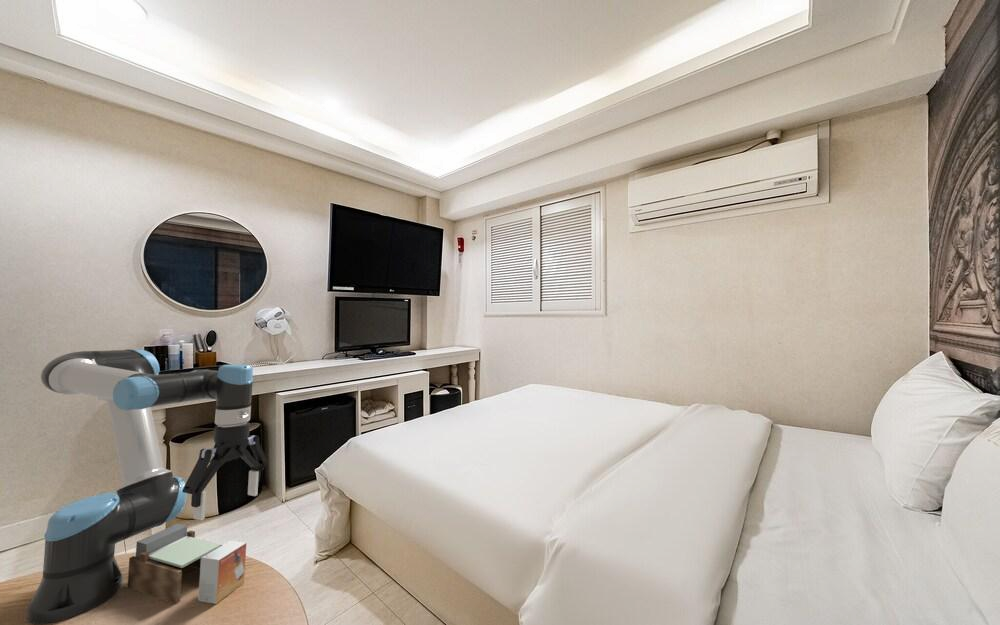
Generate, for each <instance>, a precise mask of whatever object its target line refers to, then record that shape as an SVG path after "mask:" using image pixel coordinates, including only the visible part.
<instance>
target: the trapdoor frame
mask: <svg viewBox="0 0 1000 625" xmlns="http://www.w3.org/2000/svg"><path fill="white" fill-rule="evenodd" d="M187 536H189V537H193V538H196V537H195V536H196V531H195V530H187ZM222 545H223V544H221V546H222ZM128 559H129V560H128V572H127V587H126V588H128V589H131V590H134V591H138V592H140V593H143V594H146V595H149V596H152V597H154V598H155V597H156V598H158V599H161V600H164V601H166V602H170V603H173V604H179V603H180V602H181V594H182V592H181V590H182V589H181V588H182V577H183V576H182V575H183V570H182V569H178V568H175V567H173V565H170V564H166V563H163V562H160V561H158V562H156V563H155V562H152V561H148V559H149V553H146V552H142V553H140V558H138V557H136V555H135V556H134V555H133V556H130V557H129V558H128ZM200 565H201V558H200V559H198V560H196V561H194V562H192V563H190V564H189V565H187V567H191V568H194V569H197V570H198V569H199V570H200Z"/></svg>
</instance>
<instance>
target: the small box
mask: <svg viewBox="0 0 1000 625" xmlns="http://www.w3.org/2000/svg"><path fill="white" fill-rule="evenodd" d="M221 545H222V546H220V547H219V548H217V549H215V550H214V551H212V552H210V553H209V554H207V555H205V556H203V557H201V565H200V569H199V581H198V595H197V596H198V598H197V601H198V602H202V603H203V602H204V603H206V604H207V603H208V604H214V605H217V604H218V603H219V602H220V601H222V600H224V599H225V598H226V597H227V596H229V595H230V594H232V593H233V592H235V590H237V589H238V588H239V587H241V586H243V585H244V584H245V574H246V557H247V543H246V542H243V541H237V540H236V541H235V540H228V541H227V542H225V543H224V544H221Z"/></svg>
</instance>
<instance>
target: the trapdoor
mask: <svg viewBox="0 0 1000 625" xmlns="http://www.w3.org/2000/svg"><path fill="white" fill-rule="evenodd" d="M187 532H188V525H184V524H180V523H176V524H174V525H171V526H168V528H165V529H162V530H161V531H158V532H155V533H153V534H151V535H149V536H146V537H144V538H142V539H140V540H137V541H136V548H135V557H138V558H140V553H142V552H146V553H149V559H148V561H152V562H155V563H156V562H158V561H160V562H163V563H166V564H170V565H173V566H174V567H177V568H180V569H183V568H185V567H186V566H187V565H189V564H190V563H192V562H194V561H196V560H198V559H200V558H201V557H203V556H205V555H207V554H209V553H210V552H212V551H214V550H215V549H217V548H219V547H220V546H221V545H222V544H221V543H216V542H212V541H208V540H205V539H201V538H197V537H195V538H193V537H189V536H187ZM173 566H172V567H173ZM187 567H188V566H187Z"/></svg>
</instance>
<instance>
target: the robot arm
mask: <svg viewBox="0 0 1000 625" xmlns="http://www.w3.org/2000/svg"><path fill="white" fill-rule="evenodd" d="M40 379H41V383H42V384H43V385H44V386H45V388H47V389H48V390H50V391H52V392H55V393H58V394H64V395H78V394H83V395H89V396H93V397H98V399H99V400H102V401H104V402H106V403H107V407H108V411H109V418H110V421H111V423H110V424H111V426H112V432H113V437H114V442H115V447H116V452H117V457H118V462H119V468H120V473H121V478H122V479H121V480H122V482H121V484H120V485H119V486H118V487H117V489H116V493H115V492H103V493H99V494H96V495H91V496H86V497H84V498H81V499H79V500H76V501H74V502H71V503H69V504H66V505H65V506H62V507H61V508H59V509H58V510H57V511H55V512H54V513H53V514H52V515H51V517H49V520H48V521H47V526H46V531H45V533H44V554H43V556H44V557H43V565H42V566H43V567H42V569H43V570H42V577H41V578H42V579H41V581H40V583H39V585H38V587H37V589H36V591H35V593H34V595H33V597H32V598H31V601H30V603H29V605H28V608H27V617H26V618H27V621H28V623H31V624H37V623H38V624H37V625H39V624H41V623H42V624H50V623H54V622H59V621H62V620H66V619H69V618H72V617H75V616H78V615H80V614H83V613H85V612H87V611H90V610H92V609H93V608H96V607H99V605H101V604H103V603H105V602H106V601H107V600H109V599H111V598H112V597H113V596H114V595H116V594H117V593H118V592H119V590H120V589H121V587H122V585H123V574H122V570H121V569H120V567H119V565H118V563H117V559H116V558H115V551H116V550H115V548H116V545H117V544H118V543H119V542H122V541H124V540H127V539H129V538H132V537H134V536H137V535H139V534H141V533H144V532H146V531H149V530H151V529H154V528H157V527H159V526H162V525H163V524H165V523H168V522H169V521H171V520H174V519H175V518H176V517H177V516H179V515H180V514H181V513H182V511H183V509H184V507H185V505H186V503H187V499H188V494H189V495H191V498H190V500H191V501H190V502H191V503H190V506H191V507H192V508H193V520H197V521H203V520H205V519H206V518H205V516H206V504H207V503H206V502H207V491H206V490H205V489H206V488H207V486H208V485H209V483H210V482H211V480H212V479H213V478H214V476H215V475H216V473H217V472H218V470H219V469H220V468H221V467H222V466H224V464H225V463H226V462H227V463H228V462H231V461H232V460H237V459H240V458H241V459H242V460H243V462H245V463H246V465H247V466H249V468H251V469H250V470H249V471H248V480H247V482H248V485H247V495H248V496H252V497H256V496H258V494H259V493H258V491H259V489H258V488H259V482H260V481H261V473H262V471H264V470H265V466H268V464H269V461H268V459H267V457H266V453H265V452H264V450H263V448H262V446H261V444H260V436H259V435H252V434H251V435H250V431H251V423H250V422H249V421H250V420H251V415H252V414H251V412H252V410H251V409H252V396H253V383H254V371H253V366H252V365H250V364H246V363H244V364H243V363H242V364H240V363H238V364H237V363H236V364H235V363H234V364H233V363H232V364H223V365H221V366H219V368H218V370H212V369H211V370H210V369H194V370H192V371H189V372H188V371H187V372H177V373H176V372H175V373H166V374H165V373H164V374H160V363H159V361H158V360H157V358H156V356H155V355H154V354H153V353H151V352H150V351H147V350H144V349H133V348H132V349H131V348H130V349H119V350H118V349H116V350H82V351H81V350H80V351H74V352H68V353H66V354H62V355H60V356H57V357H56V358H53V359H52V360H51V361H49V362H48V363H47V364H46V365H45V366H44V368H43V369H42V370H41V374H40ZM204 399H206V400H207V399H210V400H216V403H215V417H214V424H215V427H214V432H213V442H214V446H213V448H202V449H200V451H199V455H198V459H197V461H196V463H195V465H194V467H193V469H192V470H191V473H190V475H189V477H188V478H187V481H184V480H183V478H182V477H179V476H174V475H173V471H172V470H170V469H167V468H165V467H164V462H163V457H162V453H161V449H160V444H159V439H158V435H157V430H156V425H155V421H154V417H153V410H152V408H153V407H160V406H165V405H171V404H179V403H187V402H191V401H198V400H204ZM248 446H249V448H250V450H251V452H252V454H253V455H251V452H250V451H249V450H248V449H247V447H248ZM204 490H205V491H204Z"/></svg>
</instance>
